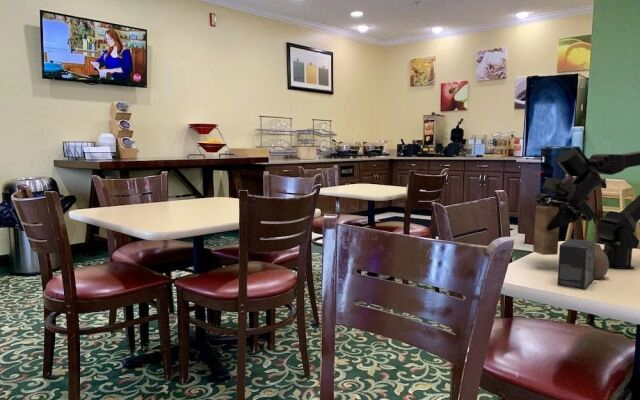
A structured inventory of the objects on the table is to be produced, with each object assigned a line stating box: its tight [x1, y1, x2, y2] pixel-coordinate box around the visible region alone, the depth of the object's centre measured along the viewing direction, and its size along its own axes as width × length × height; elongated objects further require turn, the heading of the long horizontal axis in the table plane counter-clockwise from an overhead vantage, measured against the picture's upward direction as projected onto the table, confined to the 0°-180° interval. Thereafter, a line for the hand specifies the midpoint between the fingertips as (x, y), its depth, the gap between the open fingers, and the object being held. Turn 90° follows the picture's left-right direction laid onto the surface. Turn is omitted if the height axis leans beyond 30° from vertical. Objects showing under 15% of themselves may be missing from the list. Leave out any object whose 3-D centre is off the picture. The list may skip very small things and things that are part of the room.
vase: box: [593, 243, 610, 280], centre depth 123 cm, size 7×7×9 cm
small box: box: [557, 238, 596, 291], centre depth 117 cm, size 11×6×10 cm, turn 141°
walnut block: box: [532, 205, 560, 256], centre depth 130 cm, size 4×4×13 cm
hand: (542, 227), depth 130 cm, fingers closed on walnut block, 4 cm apart
